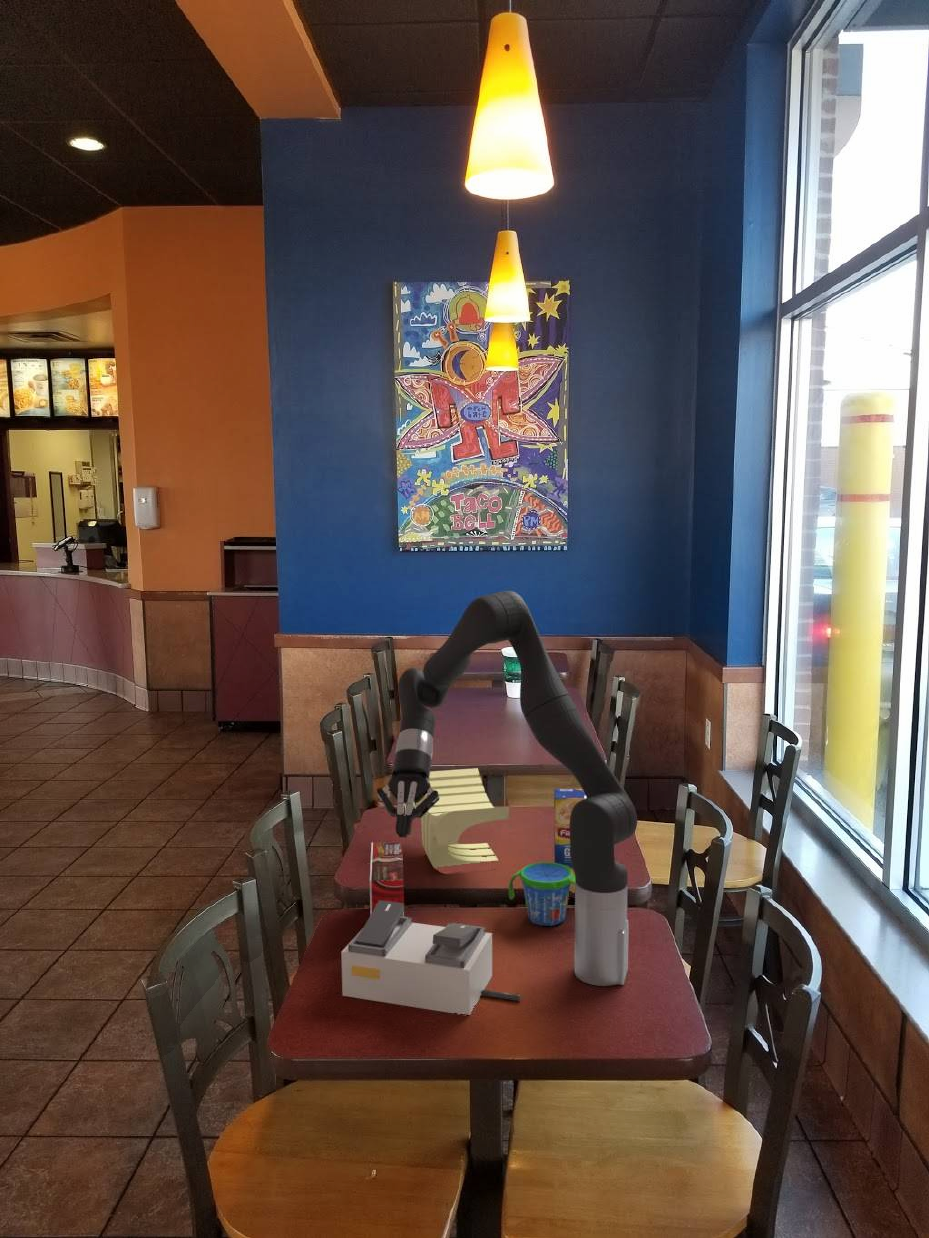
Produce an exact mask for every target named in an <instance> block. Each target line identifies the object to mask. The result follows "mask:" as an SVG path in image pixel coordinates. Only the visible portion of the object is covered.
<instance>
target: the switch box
mask: <svg viewBox="0 0 929 1238" xmlns="http://www.w3.org/2000/svg"><path fill="white" fill-rule="evenodd" d="M412 921H413V919H412V917H409V916H404V917H403V916H401V917H400V919H399V921H398V923H397V925H396V927H395V929H394V931H393V933H392V935H391V936H390V938H389V940H388V942H387V944H386V945H385V946H384V948H379V947H372V946H365V945H358V944H356V940H357V938H358V937H359V935H360V933H361V931H362V930H363V928H361V930H360V931H359V932H358V933H357V934H356V935H355V936H354V938H353V939H352V940H350V942H349V943H348V944H347V945H346V946H345V947H344V948H343V949H342V951H341V953H340V954H341V984H342V985H341V987H342V988H341V990H342V992H341V993H342V994H341V995H342V996H343V997H351V998H356V999H361V1000H367V1001H374V1002H381V1003H386V1004H392V1005H399V1006H406V1007H411V1008H416V1009H423V1010H430V1011H434V1012H435V1011H436V1012H443V1013H448V1014H454V1013H457V1014H456V1015H460V1014H468V1015H470V1014H471V1015H472V1013H471V1012H473V1011H474V1009H475V1007H476V1006H475V1005H477V1003H478V1002H479V1000H480V999H481V997H480V996H483V997H489V998H490V997H491V998H495V999H496V998H497V999H502V998H503V1000H508V999H509V1001H517V1002H519V1001H521V1000H522V995H520V994H517V993H509V992H503V991H496V990H488V989H486V988H487V986H488V984H489V982H490V980H491V978H492V977H493V933H492V932H486V926H477V925H476V926H475V925H469V924H463V923H457V922H456V923H455V922H448V923H447V925H446V926H440V925H432V924H426V923H425V924H424V923H417V922H412ZM452 924H458V925H465V926H473V927H478V934H477V936H476V937H475V938H473V939H472V940H470V941H469V942H467V943H466V944H464V945H463V946H461V947H453V946H446V945H439V944H433V935H434V934H436V933H438V932H439V931H441V930H443V929H445V928H446V927H448V926H450V925H452ZM474 1006H475V1007H474ZM473 1008H474V1009H473ZM472 1010H473V1011H472ZM471 1015H470V1016H471Z"/></svg>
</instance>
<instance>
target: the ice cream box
mask: <svg viewBox="0 0 929 1238" xmlns="http://www.w3.org/2000/svg"><path fill="white" fill-rule="evenodd" d="M370 847H371V851H370V868H369V869H370V871H369V900H370V901H369V902H370V903H369V905H370V906H369V907H370V908H369V909H370V912H369V913H370V915H371V914H372V912H373V910H374V908H375V906H376V905H377V903H378V901H379V900H381V901H389V902H397V903H404V904H405V900H404V899H405V893H404V889H405V887H404V883H405V882H404V862H403V861H404V859H403V841H379V842H378V841H377V842H373V841H372V842H371V846H370ZM370 915H369V916H370ZM401 916H403V917H405V910H404V911H403V913H402V915H401Z"/></svg>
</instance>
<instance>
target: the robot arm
mask: <svg viewBox="0 0 929 1238" xmlns="http://www.w3.org/2000/svg"><path fill="white" fill-rule="evenodd" d="M504 641H508V642H509V643H510V645H511V648H512V649H513V651H514V653H515V656H516V658H517V660H518V663H519V667H520V686H519V687H520V688H519V702H520V709H521V712H522V715H523V716H524V719H525V721H526V724H528V726H529V727H528V728H530V731H531V732H532V735H533V736H534V738H535V740H536V741H537V742H538V744H539V745H540V746H541V747H542V748H543V749H544V750H545V751H546V752H548V753H549V754H550V755H551V756H552V757H553V758H554V759H555V760H557V761H558V762H559V763H560V764H562V765H563V767H565V768H566V769H567V770H568V771H569V772H570V773H571V774H572V775H573V776H574V778H575V779H576V781H577V782H578V783H579V786H580V787H581V789H583V791H584V793H585V795H586V797H587V798H586V799H583V800H581V801H579V802H578V803H577V804H576V805H575V806H574V807H573V809H572V812H571V816H570V853H571V864H572V867H573V870H574V872H575V899H574V960H573V962H574V964H573V965H574V966H573V967H574V975H575V976H576V978H577V979H578V980H580V981H581V982H582V983H585V984H587V985H588V984H589V985H591V986H598V987H607V986H608V987H610V986H616V985H621V986H623V985H625V980H626V977H627V974H628V970H629V928H630V927H629V925H630V924H629V920H628V883H629V882H628V881H629V880H628V876H629V875H628V870H627V867H626V866H625V865H624V864H623V863H621V862H619V861H616V858H615V845H617V844H620V843H621V842H624V841H625V840H627V839H629V838H630V837H632V836H633V835H634V834H635V832H636V830H637V827H638V816H637V811H636V808H635V805H634V803H633V802H632V800H631V798H630V797H629V795H628V793H627V792H626V790H625V788H624V787H623V786H622V784H621V782H620V781H619V780H618V778H617V776H616V775H615V774H614V773H613V771H612V769H611V768H610V766H609V765H608V763H607V761H605V758H604V757H603V755H602V754H601V751H600V749H599V748H598V746H597V745H596V742H595V741H594V739H593V737H592V736H591V734H590V732H589V730H588V728H587V727H586V725H585V722H584V721H583V719H582V717H581V715H580V713H579V711H578V708H577V707H576V705H575V702H574V701H573V699H572V697H571V696H570V693H569V692H568V690H567V688H566V687H565V685H564V683H563V681H562V680H561V678H560V676H559V673H558V671H557V670H556V668H555V666H554V664H553V661H552V660H551V658H550V656H549V654H548V652H547V649H546V647H545V646H544V642H543V640H542V638H541V636H540V633H539V630H538V628H537V625H536V623H535V620H534V619H533V616H532V613H531V612H530V609H529V607H528V605H527V603H526V601H524V599H523V598H522V596H521V595H519V594H518V593H517V592H515V591H512V590H503V591H499V592H494V593H491V594H485V595H481V596H479V597H476V598H474V599H473V600H472V601H471V602H470V603H469V604H468V606H467V607H466V609H464V612H463V613H462V615H461V617H460V618H459V620H458V622H457V624H456V625H455V626H454V629H453V630H452V631H451V633H450V634H449V636H448V638H447V639H446V641H445V642H444V643H443V644H442V645H441V647H439V648H438V649H437V650H436V651H435V652H433V654H432V655H431V656H430V657H429V659H427V660H426V661H425V663H424V665H423V669H422V670H421V669H418V668H415V667H410V668H408V669H406V670H404V671H403V673H401V675H400V677H399V680H398V683H397V694H398V699H399V706H400V714H401V715H400V716H401V721H400V729H399V734H398V737H397V740H396V741H397V742H396V745H395V746H396V747H395V752H394V760H393V766H392V772H391V778H390V779H389V780H388V783H387V785H386V786H385V787H383V788H382V787H377V789H376V793H377V796H378V799H379V800H380V801H381V803H382V805H383V806H384V807H385V809H386V811H387V812H388V813H389V815H390V817H393V818H395V819H396V822H395V827H394V828H395V829H394V830H395V832H396V835H397V836H398V838H405V839H406V838H408V836H409V835H411V832H412V825H413V820H414V819H417V818H418V819H421V817H422V816H423V815H424V814H425V813H426V812H427V811H428V810H429V809H430V808H431V807H432V806H433V805H434V804H435V803H436V802H437V801H438V800H439V794H438V791H436V790H433V789H432V788H431V786H430V782H429V776H430V772H431V768H432V766H431V765H432V759H433V755H434V754H433V752H434V751H433V750H434V735H435V733H434V732H435V726H436V717H435V715H434V713H433V712H432V711H430V709H437V708H439V707H441V706H442V705H443V704H444V702H445V700H446V698H447V695H448V692H449V690H450V688H451V687H452V685H453V684H454V683H455V682H456V680H457V679H459V678H460V677H461V676H462V675H463V674H464V673H466V670H467V669H468V668H469V665H470V663H471V658H472V654H473V653H475V651H477V650H479V649H481V648H482V647H484V646H486V645H489V644H497V643H501V642H504ZM390 793H391V794H392V796H393V797H394V799H395V801H396V803H397V806H396V807H395V806H394V804H393V803H392V801H391V800H390V799H389V798H390V797H391V795H390ZM426 794H427V795H426ZM425 795H426V797H427V798H426V799H425V800H424V801H422V802H421V803H420V804H419V805H418V804H417V803H418V802H419V801H420V800H421V799H422V798H423V797H424V796H425Z"/></svg>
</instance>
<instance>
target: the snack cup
mask: <svg viewBox="0 0 929 1238" xmlns="http://www.w3.org/2000/svg"><path fill="white" fill-rule="evenodd" d="M516 877H519V879H520V880H521V884H522V886H523V892H524V899H525V905H526V911H527V912H526V913H527V916H528V919H529V920H530V921H531V922H532V923H533V924H534V925H538V926H542V927H543V926H550V927H553V926H556V925H559V924H561V923H562V922H564V921H565V919H566V915H567V908H568V903H569V898H568V897H569V890H570V884H571V883H574V884H575V876H574V875H573V873H572V870H571V869H570V868H568V867H567V866H565V865H562V864H558V863H554V862H550V861H547V862H546V861H544V862H534V863H531V864H528V865H526V866H523V867H522V869H520V870H517V871H516V872H515V873H514V874H513V875H512V877H510V880H509V884H508V897H509V900H512V901H513V899H514V898H515V895H516V894H515V891H514V881H515V880H516Z"/></svg>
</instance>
